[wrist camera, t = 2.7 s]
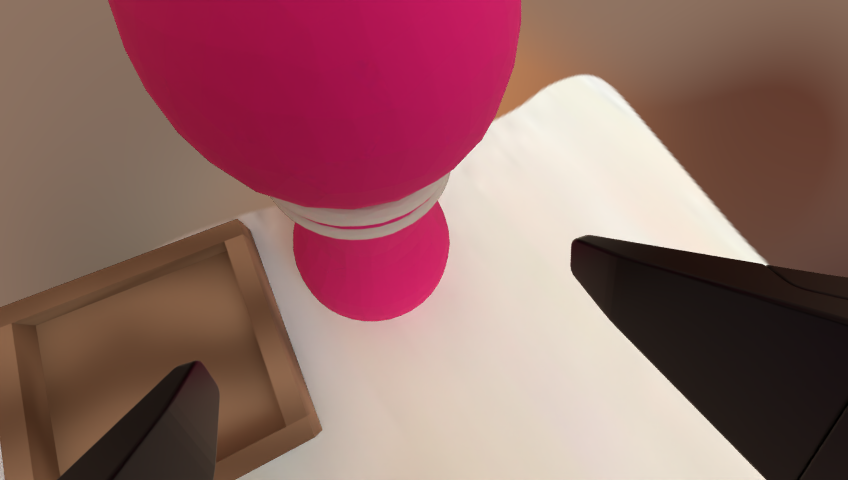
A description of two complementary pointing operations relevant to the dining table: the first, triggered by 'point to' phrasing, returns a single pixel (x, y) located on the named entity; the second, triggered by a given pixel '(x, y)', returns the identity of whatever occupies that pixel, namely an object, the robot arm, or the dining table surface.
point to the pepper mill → (335, 120)
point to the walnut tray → (151, 355)
